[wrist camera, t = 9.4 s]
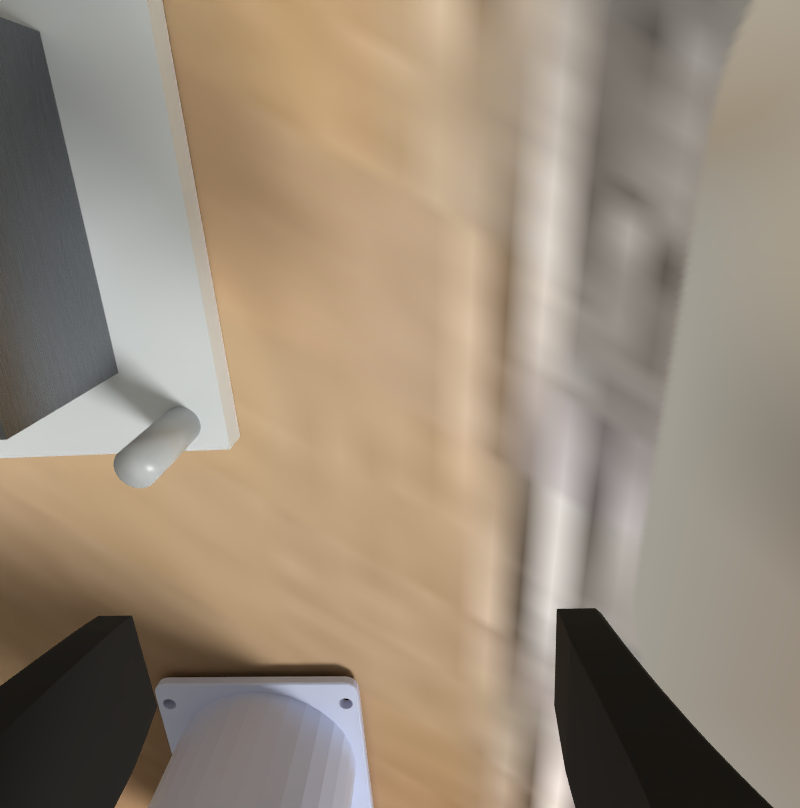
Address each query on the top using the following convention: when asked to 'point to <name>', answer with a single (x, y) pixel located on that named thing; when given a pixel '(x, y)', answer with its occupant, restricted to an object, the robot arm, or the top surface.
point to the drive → (42, 250)
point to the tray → (133, 243)
